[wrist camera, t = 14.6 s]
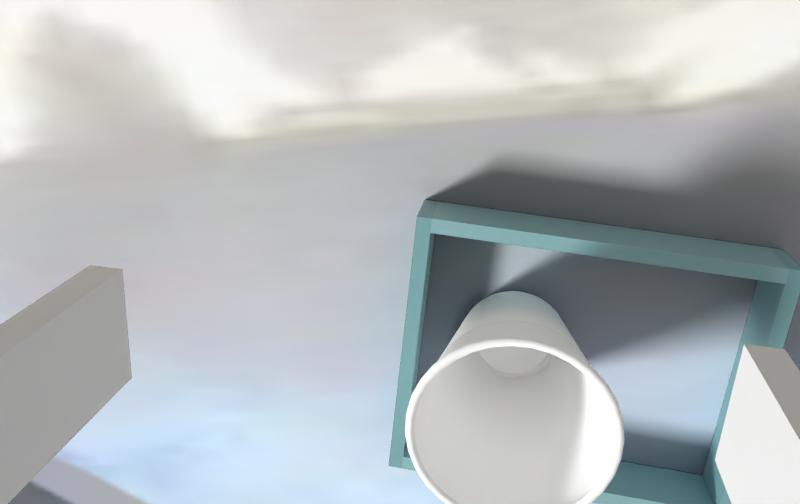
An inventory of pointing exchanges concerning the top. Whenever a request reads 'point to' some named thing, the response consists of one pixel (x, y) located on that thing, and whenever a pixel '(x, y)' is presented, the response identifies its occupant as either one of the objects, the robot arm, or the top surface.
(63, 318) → the robot arm
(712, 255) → the walled box
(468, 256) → the top surface
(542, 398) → the cup
